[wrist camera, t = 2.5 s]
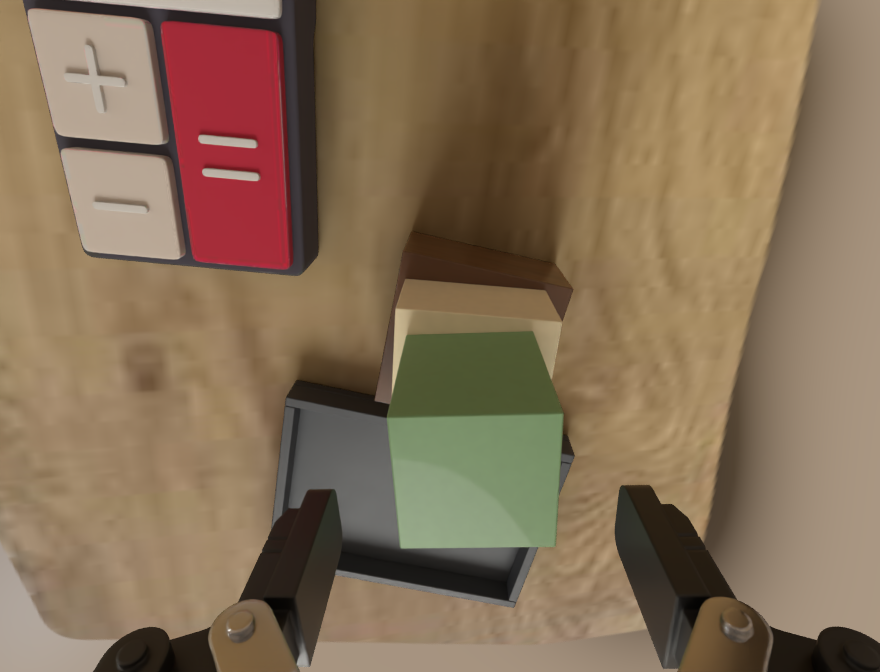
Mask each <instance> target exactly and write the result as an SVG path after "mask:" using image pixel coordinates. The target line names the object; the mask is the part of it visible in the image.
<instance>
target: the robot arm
mask: <svg viewBox="0 0 880 672" xmlns="http://www.w3.org/2000/svg"><path fill="white" fill-rule="evenodd" d="M615 540H616V546H617V550H618V553H619V556H620V558H621V561H622V563H623V566H624V569H625V571H626V574H627V576H628V579H629V582H630V584H631V587H632V589H633V592H634V595H635V597H636V600H637V602H638V605H639V608H640V610H641V613H642V615H643V618H644V621H645V623H646V626H647V628H648V631H649V634H650V636H651V639H652V641H653V644H654V647H655V649H656V651H657V654H658V657H659V660H660V662H661V665H662V667H663V668H664V669H667V668H669V669H675V668H676V669H677V668H678V672H880V643H878V642H877V641H875V640H874V639H872V638H870V637H869V636H867V635H865V634H863V633H860V632H858V631H855V630H852V629H849V628H845V627H829V628H826V629H824V630H823V631H822V632H821V633H820V634H819V636H818V639H817V640H814V639H810V638H806V637H803V636H799V635H796V634H792V633H788V632H784V631H781V630H778V629H775V628H773V627H771V626H769V625H768V623H767V622H766V621H765V619H764V618H763V617H762V616H761V615H760V614H759V613H758V612H757V611H755V610H754V609H753V608H751V607H750V606H748V605H746V604H745V603H743V602H741V601H738V600H737V599H736V597H735V595H734V594H733V592H732V590H731V589H730V587H729V585H728V584H727V582H726V581H725V579H724V577H723V575H722V574H721V572H720V570H719V569H718V567H717V565H716V564H715V562H714V560H713V559H712V557H711V555H710V554H709V552H708V550H706V549H705V545H704V544H703V542H702V540H701V539H700V537H698V534H697V532H696V530H695V529H694V527H693V525H692V524H691V522H690V520H689V519H688V517H687V516H685V515H684V514H683V513H682V512H681V511H680V510H678V509H677V508H676V507H675V506H674V505H672V504H661V503H660V501H659V499H658V498H657V496H656V494H655V492H654V490H653V489H652V487H651V486H650V485H622V486H621V487H620V490H619V497H618V505H617V514H616V522H615ZM341 549H342V526H341V519H340V513H339V506H338V500H337V494H336V491H335V489H309V490H307V492H306V494H305V496H304V499H303V501H302V504H301V506H300V508H288V509H287V510H286V511H285V512H284V513H283V514H282V515H281V516H280V518H279V519H278V520H277V521H276V522H275V523H274V525H273V528H272V530H271V532H270V534H269V536H268V540H267V541H266V543H265V545H264V547H263V549H262V553H261V554H260V556H259V558H258V560H257V562H256V565H255V567H254V569H253V571H252V573H251V575H250V578H249V580H248V582H247V584H246V586H245V588H244V591H243V593H242V595H241V597H240V599H239V601H238V603H235V604H233V605H232V606H230V607H228V608H227V609H226V610H224V611H223V612H222V613H221V614H220V615H219V616H218V617H217V618H216V619H215V621H214V622H213V624H212V626H211V627H209V628H207V629H205V630H202V631H199V632H195V633H192V634H189V635H185V636H182V637H179V638H175V639H172V640H170V639H169V637H168V635H167V633H166V632H165V631H164V630H162V629H160V628H156V627H147V628H142V629H138V630H136V631H133V632H131V633H129V634H127V635H126V636H124V637H122V638H121V639H120V640H118V641H117V642H116V643H114V644H113V645H112V646H111V647H110V648H109V649H108V650H107V652H106V653H105V654H104V655H103V657H102V658H101V660H100V662H99V663H98V665H97V667H96V668H95V670H94V671H93V672H300V671H299V669H298V667H310V665H311V661H312V657H313V654H314V650H315V646H316V643H317V639H318V635H319V632H320V628H321V624H322V621H323V617H324V613H325V610H326V606H327V602H328V599H329V595H330V591H331V587H332V584H333V580H334V576H335V573H336V569H337V565H338V562H339V558H340V554H341Z"/></svg>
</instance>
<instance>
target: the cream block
mask: <svg viewBox="0 0 880 672" xmlns="http://www.w3.org/2000/svg"><path fill="white" fill-rule="evenodd" d="M561 328H562V320H561V318H560V317H559V315H558V313H557V311H556V309H555V307H554V305H553V304H552V302H551V300H550V298H549V296H548V294H547V292H546V291H545V290H535V289H523V288H511V287H499V286H487V285H475V284H463V283H451V282H439V281H427V280H415V279H405V281H404V284H403V287H402V290H401V293H400V296H399V299H398V303H397V306H396V309H395V330H394V352H393V375H392V393H393V389H394V385H395V380H396V376H397V372H398V368H399V363H400V359H401V355H402V351H403V347H404V342H405V338H406V335H422V334H456V333H489V332H522V331H533V332H534V335H535V337H536V340H537V343H538V345H539V348H540V351H541V354H542V356H543V359H544V362H545V364H546V367H547V370H548V372H549V375H550V378H551V380H552V376H553V370H554V365H555V360H556V354H557V349H558V344H559V338H560V333H561ZM389 446H390V445H389Z"/></svg>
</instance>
